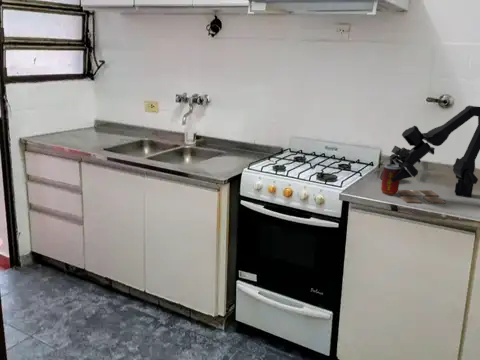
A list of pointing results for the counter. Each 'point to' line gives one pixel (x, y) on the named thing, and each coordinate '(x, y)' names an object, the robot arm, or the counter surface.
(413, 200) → the lane broken
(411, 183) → the counter surface
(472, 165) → the robot arm
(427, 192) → the brown wooden board
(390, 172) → the soda can
